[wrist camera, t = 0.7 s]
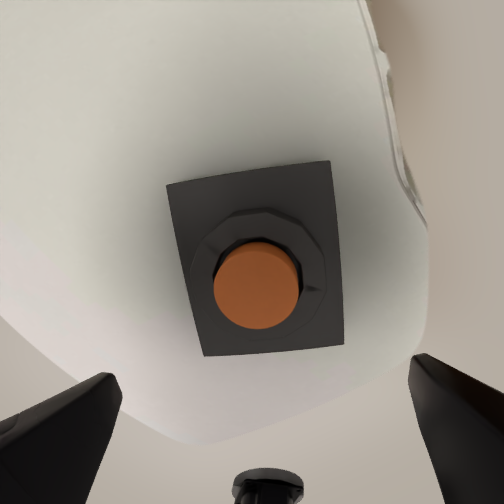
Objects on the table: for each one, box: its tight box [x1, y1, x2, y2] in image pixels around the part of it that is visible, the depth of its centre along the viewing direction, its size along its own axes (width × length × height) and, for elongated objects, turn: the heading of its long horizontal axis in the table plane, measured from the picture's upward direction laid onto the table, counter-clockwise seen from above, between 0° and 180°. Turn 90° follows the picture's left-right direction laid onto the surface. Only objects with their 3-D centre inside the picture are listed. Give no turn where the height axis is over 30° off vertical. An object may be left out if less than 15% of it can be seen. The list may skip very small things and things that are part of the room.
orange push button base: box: [166, 161, 344, 357], centre depth 18 cm, size 11×9×4 cm
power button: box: [214, 242, 299, 329], centre depth 16 cm, size 4×4×2 cm
